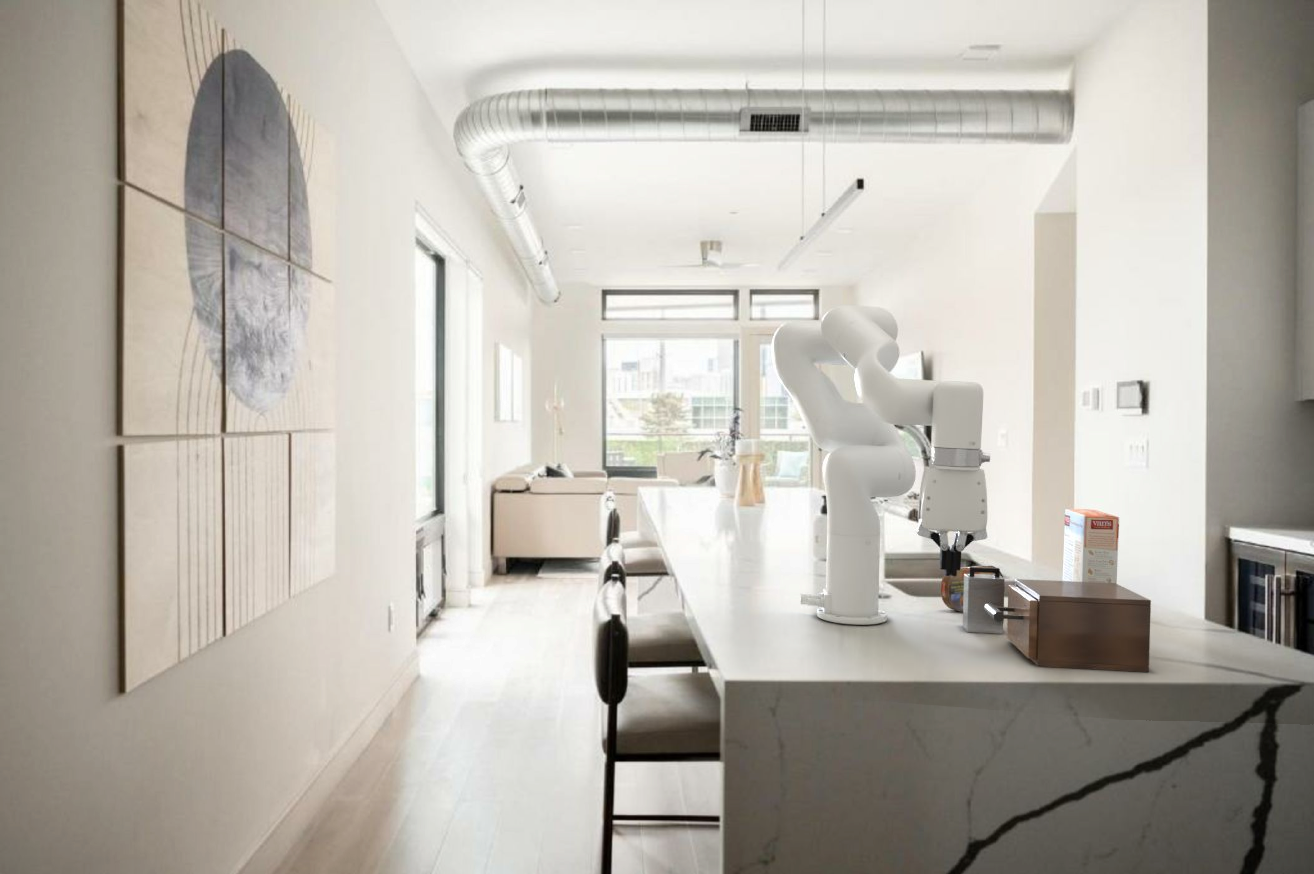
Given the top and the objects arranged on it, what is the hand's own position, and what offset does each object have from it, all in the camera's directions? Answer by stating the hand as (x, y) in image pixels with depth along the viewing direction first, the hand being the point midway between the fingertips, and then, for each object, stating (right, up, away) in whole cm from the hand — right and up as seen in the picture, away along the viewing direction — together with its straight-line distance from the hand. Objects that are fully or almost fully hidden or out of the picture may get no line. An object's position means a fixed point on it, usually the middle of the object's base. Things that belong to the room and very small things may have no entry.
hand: (949, 574), depth 146 cm
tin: (+15, -12, +33) cm, 38 cm away
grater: (+10, -12, +14) cm, 21 cm away
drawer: (+15, -11, -3) cm, 19 cm away
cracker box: (+30, -12, +17) cm, 36 cm away
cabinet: (+19, -12, -3) cm, 23 cm away
